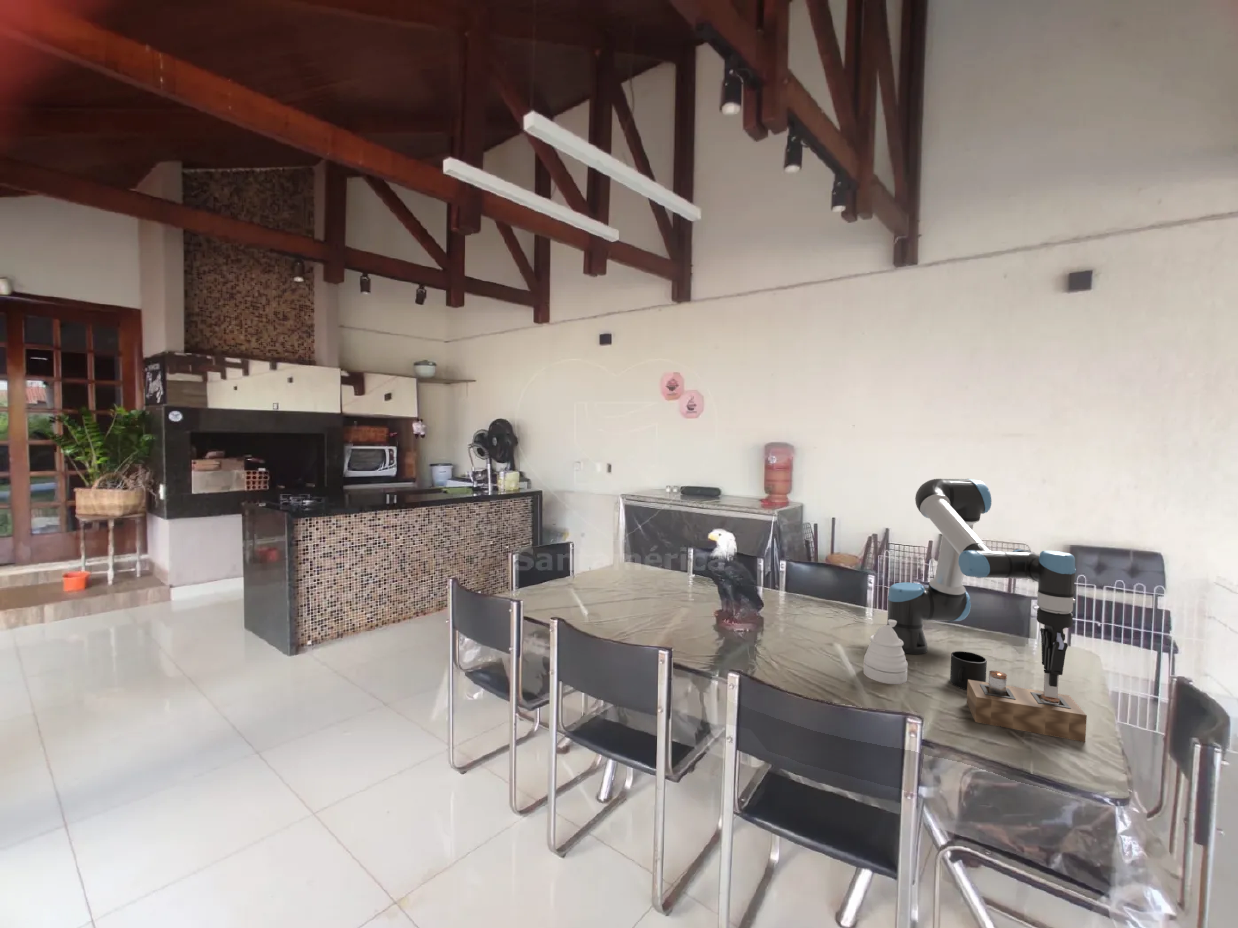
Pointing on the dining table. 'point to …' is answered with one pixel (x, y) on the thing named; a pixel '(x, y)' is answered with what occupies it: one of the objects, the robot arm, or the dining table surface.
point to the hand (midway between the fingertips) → (1050, 695)
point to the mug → (967, 668)
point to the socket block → (1026, 711)
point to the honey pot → (886, 656)
